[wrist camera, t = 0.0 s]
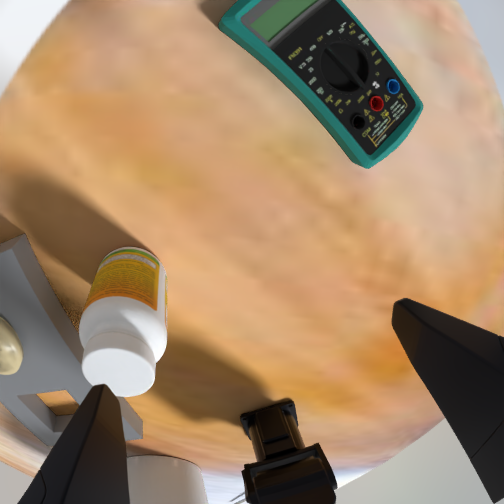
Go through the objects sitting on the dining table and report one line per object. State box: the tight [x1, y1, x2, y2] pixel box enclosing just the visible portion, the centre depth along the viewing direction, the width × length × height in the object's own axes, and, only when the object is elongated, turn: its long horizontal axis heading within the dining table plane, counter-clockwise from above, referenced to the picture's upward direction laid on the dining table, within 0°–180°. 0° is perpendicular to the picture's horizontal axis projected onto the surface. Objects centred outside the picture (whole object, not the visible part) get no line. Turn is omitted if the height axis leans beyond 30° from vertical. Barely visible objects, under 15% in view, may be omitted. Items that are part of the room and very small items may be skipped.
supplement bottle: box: [79, 247, 167, 397], centre depth 19 cm, size 5×5×10 cm
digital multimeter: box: [219, 0, 423, 169], centre depth 18 cm, size 7×15×3 cm, turn 46°
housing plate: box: [0, 234, 143, 446], centre depth 23 cm, size 24×14×4 cm, turn 11°
